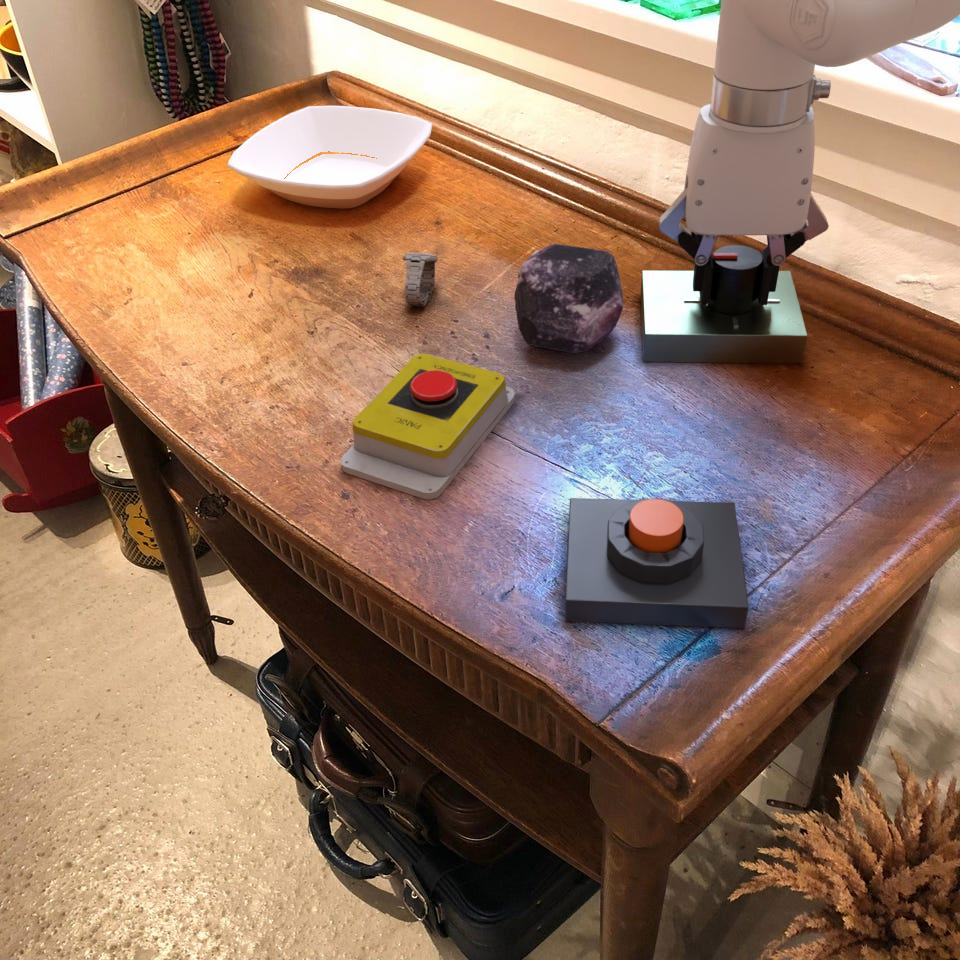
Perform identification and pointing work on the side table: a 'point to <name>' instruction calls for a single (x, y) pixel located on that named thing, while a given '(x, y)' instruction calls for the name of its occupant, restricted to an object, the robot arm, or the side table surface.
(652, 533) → the button
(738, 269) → the knob
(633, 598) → the button block
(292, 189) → the bowl
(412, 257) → the wristwatch
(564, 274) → the mineral specimen
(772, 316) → the panel
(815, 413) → the side table surface
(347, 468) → the emergency button
